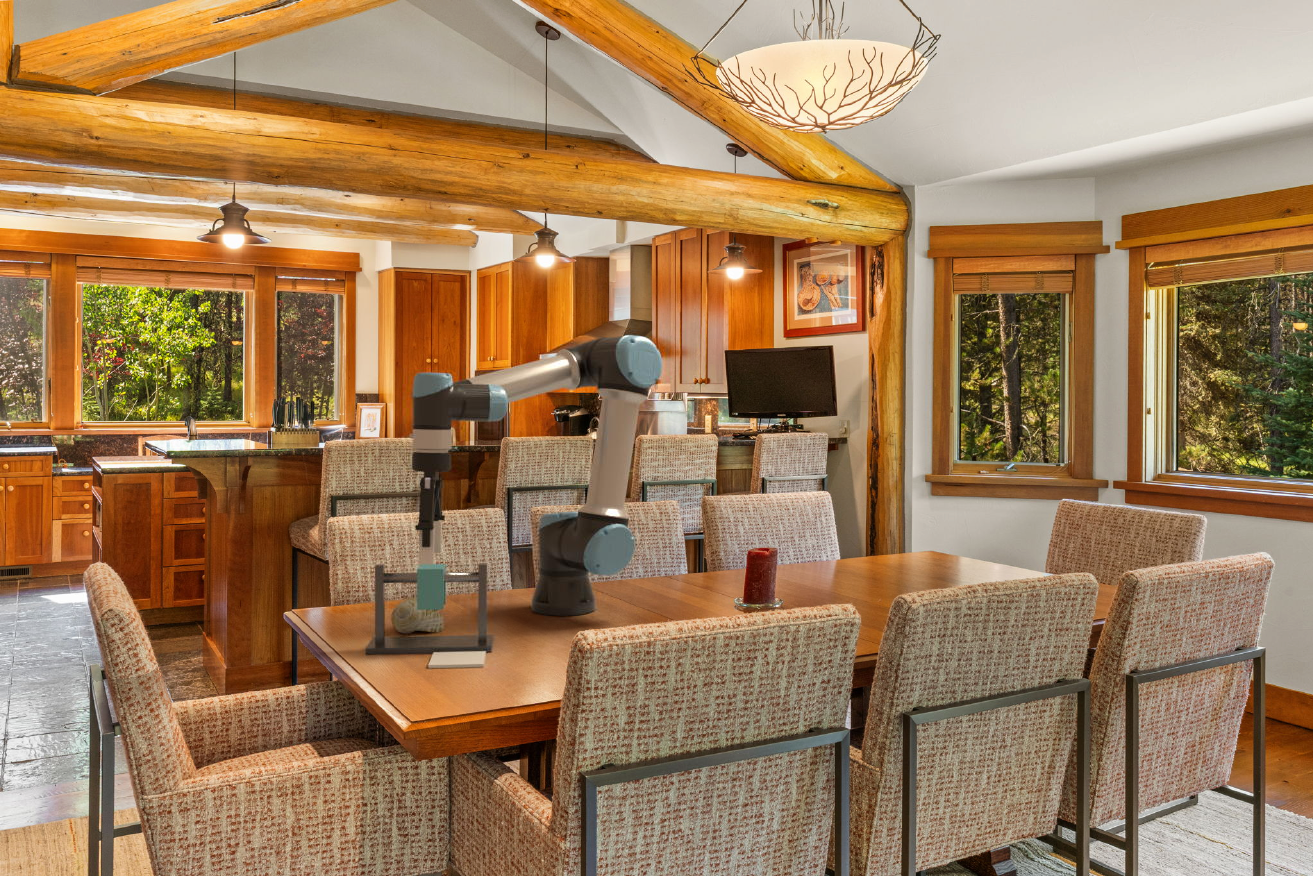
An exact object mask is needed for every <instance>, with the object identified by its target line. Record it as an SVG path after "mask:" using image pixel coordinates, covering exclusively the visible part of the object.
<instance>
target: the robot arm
mask: <svg viewBox="0 0 1313 876" xmlns="http://www.w3.org/2000/svg"><path fill="white" fill-rule="evenodd" d="M662 373H663V359H662V356H661V352H660V350H659V349H658V348H657V345H655V343H654V342H653V341H652V340H650V339H649V338H648V337H645V336H641V335H632V334H627V335H623V336H622V335H621V336H603V337H597V338H594V339H591V340H588V341H585V342H583V343H580V344H576V345H572V346H571V347H567V348H563V349H560V350H558V352H557V353H556V354H555V356H551V357H546V358H542V359H539V360H538V359H537V360H535V361H530V362H527V363H522V364H520V365H519V364H518V365H516V366H512V367H509V368H505V369H504V368H503V369H500V370H495V371H492V372H488V373H484V374H480V375H477V376H473V377H469V378H465V379H463V380H457V381H454V380H453V375H452V374H451V373H446V372H418V373H416V374H415V375H414V376H413V383H412V384H413V385H412V394H411V397H412V433H409V435H408V437H409V439H413V440H412V445H411V446H412V449H413V450H415V451H413V452H412V453H411V470H412V471H414V472H423V477H421V479H420V482H419V487H420V489H419V491H420V492H419V497H420V498H419V508H418V509H419V510H418V511H419V513H418V522H417V524H415V531H418V532H419V533H418V565H420V564H435V554H441V552H442V521H445V520H446V519H445V517H446V516H445V515H444V514H443V507H442V505H443V503H442V494H443V493H442V492H443V491H442V490H443V489H442V488H443V480H442V474H441V473H444V472H450V471H451V469H452V453H451V452H450V451H449V450H451V449H452V441H453V440H452V437H453V435H452V434H453V433H452V431H453V429H452V427H453V425H452V423H453V422H457V421H458V422H486V423H489V422H499V421H502V419H503V418H505V416H506V414H507V410H508V409H509V405H508V404H510V403H514V402H516V401H520V400H523V399H527V398H531V397H535V396H537V395H538V396H539V395H542V394H546V393H550V392H553V391H556V390H560V389H566V390H569V391H574V390H577V389H580V388H589V387H590V388H594V387H595V388H596V387H597V388H596V392H597V393H598V395H599V396H600V398H601V399H602V400H601V407H600V411H599V418H598V419H599V420H598V426H597V432H596V438H595V444H594V450H593V457H592V464H591V469H590V476H589V482H588V489H587V496H586V502H585V503H584V505H583V506H581V507H580V508H578V510H576V511H567V512H566V511H564V512H563V511H562V512H550V513H544V514H542V515H541V517H540V518H539V522H538V523H539V525H538V549H539V550H538V579H537V581H536V582H537V583H536V585H535V588H534V591H533V594H532V597H531V603H530V604H531V607H530V608H531V609H530V610H531V611H532V612H533V613H537V614H540V615H546V616H547V615H548V616H557V617H558V616H560V617H561V616H565V617H566V616H578V615H584V614H588V613H589V614H590V613H593V612H595V610H596V608H597V604H596V602H597V601H596V596H595V593H594V590H593V586H592V583H591V580H590V578H589V577H590V576H589V573H590V574H592V575H594V576H596V575H598V576H614V575H617V574H619V573H620V572H622V571H623V570H624V569H626V568H627V567H628V565H629V564H630V563H631V561H632V560H633V556H634V554H635V549H636V540H635V537H634V536H633V532H632V530H631V529H629V523H630V522H629V521H630V516H629V515H628V514H627V513H626V510H625V502H626V496H627V490H628V482H629V478H630V470H631V465H632V456H633V453H634V452H633V451H634V445H635V438H636V432H637V424H638V419H639V410H640V405H641V404H642V403H643V402H645V401H647V400H648V396H649V392H650V388H651V387H652V386H654V385H655V384H656V382H658V381H659V380H660V379H661V376H662Z"/></svg>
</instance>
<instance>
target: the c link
mask: <svg viewBox="0 0 1313 876" xmlns="http://www.w3.org/2000/svg"><path fill="white" fill-rule="evenodd" d="M446 569H447V564H446V563H434V564H419V566H418V567H417V569H416V573H417V583H416V597H417V610H439V611H440V610H444V608H445V607H444V606H446V604H447V603H446V602H447V601H446V600H447V582H446V583H444V573H445V572H447V570H446Z"/></svg>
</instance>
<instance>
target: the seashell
mask: <svg viewBox="0 0 1313 876" xmlns="http://www.w3.org/2000/svg"><path fill="white" fill-rule="evenodd" d="M390 615H391V616H390V622H391V625H392V627H393V628H394V630H396V631H397V632H399V633H401V634H411V633H413V632H416V631H419V632H429V633H440V632H441V631H444V627H445V623H444V622H445V620H444V617H443V614H442V613H441V612H440V610H417V596H416V597H415V596H414V597H409V598H406V599H403V600H402V601H401V602H399V603H398V604H397V605H396V606H395V608H394V609H393V611H392V612H391V614H390Z"/></svg>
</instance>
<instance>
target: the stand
mask: <svg viewBox="0 0 1313 876" xmlns="http://www.w3.org/2000/svg"><path fill="white" fill-rule="evenodd" d="M385 566H386V564H381V563H379V564H378V563H376V564H375V565H374V636H372V638H371V640H370V641H369V643H368V644H367V646H366V647H365V650H364V651H365V655H367V656H369V655H371V656H372V655H411V654H412V655H413V654H415V655H417V654H420V655H421V654H423V655H424V654H433V652H473V651H486V653H492V652H493V646H494V641H495V640H494V638H495V637H494V634H488V563H485V562H483V563H478V571H464V572H463V571H462V572H461V571H458V572H457V571H452V572H450V571H449V572H447V571H446V572H445V573H444V583H446V584H447V583H478V586H477V587H478V589H477V590H478V592H477V593H478V600H477V601H478V603H477V605H478V611H477V612H478V614H477V615H478V617H477V618H478V620H477V621H478V622H477V623H478V626H477V627H478V628H477V630H478V632H477V634H474V635H473V634H469V635H468V634H467V635H465V634H464V635H462V634H460V635H457V634H456V635H414V636H413V635H412V636H411V635H409V636H408V635H407V636H385V634H386V629H385V628H386V627H385V626H386V620H385V619H386V618H385V616H386V615H385V613H386V612H385V611H386V608H385V606H386V603H385V600H386V596H385V594H386V590H385V589H386V587H385V586H386V584H417V572H386V569H385V568H386V567H385Z"/></svg>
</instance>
